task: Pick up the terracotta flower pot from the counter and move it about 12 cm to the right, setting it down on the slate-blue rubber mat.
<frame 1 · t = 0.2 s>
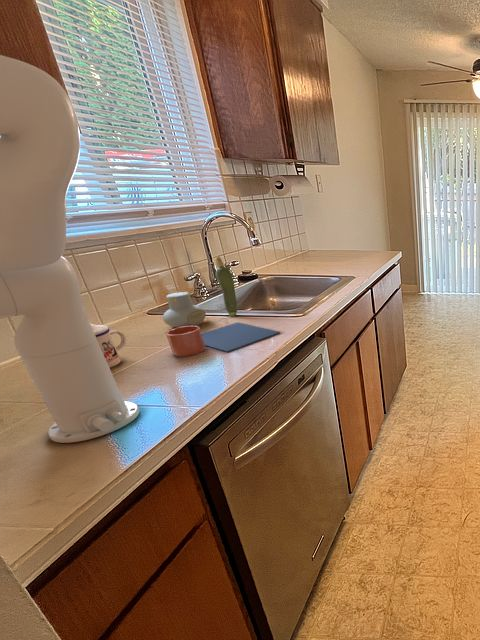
terracotta flower pot: (189, 351, 106), on the counter
mat: (233, 336, 116), on the counter
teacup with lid: (106, 364, 99), on the counter
air freshener: (188, 325, 125), on the counter
vegetable: (235, 316, 134), on the counter
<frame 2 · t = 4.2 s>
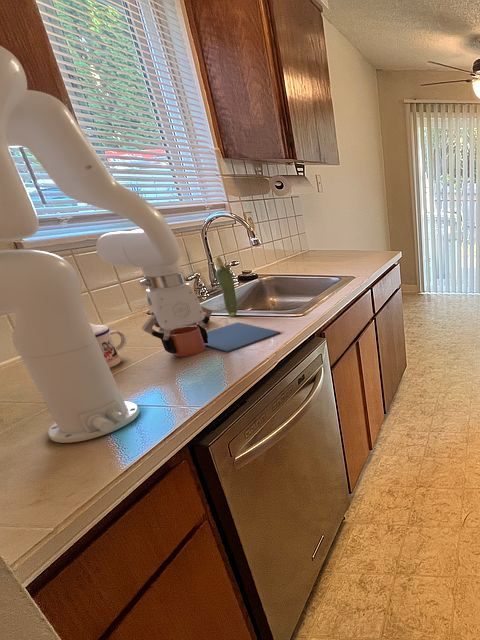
hand: (188, 347, 105), 1 cm above the counter, tool pointing down, fingers closed on terracotta flower pot, 7 cm apart
terracotta flower pot: (190, 351, 106), on the counter, touching gripper
everything else where it was.
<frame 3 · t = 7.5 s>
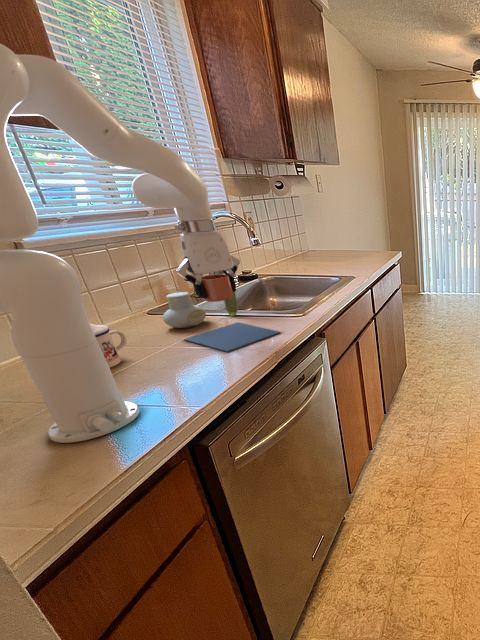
hand: (218, 294, 110), 13 cm above the counter, tool pointing down, fingers closed on terracotta flower pot, 7 cm apart
terracotta flower pot: (219, 298, 110), point 12 cm above the counter, touching gripper
everything else where it was.
when the fingers open (2 cm above the counter, at t = 10.6 s): terracotta flower pot stays where it is, resting on mat.
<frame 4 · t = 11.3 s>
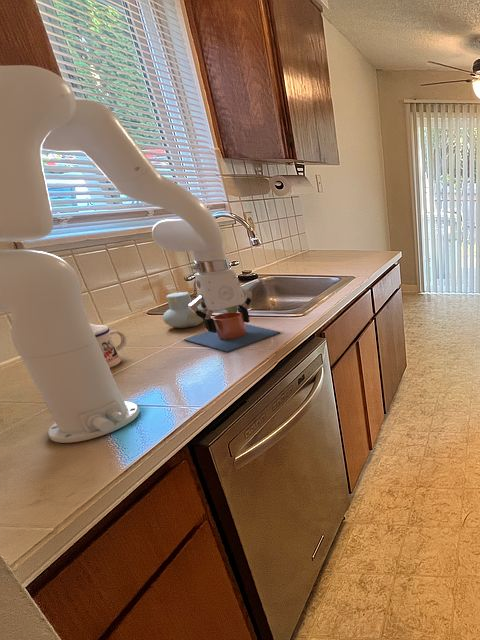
hand: (229, 326, 114), 3 cm above the counter, tool pointing down, fingers open, 9 cm apart
terracotta flower pot: (232, 335, 115), resting on mat
everything else where it was.
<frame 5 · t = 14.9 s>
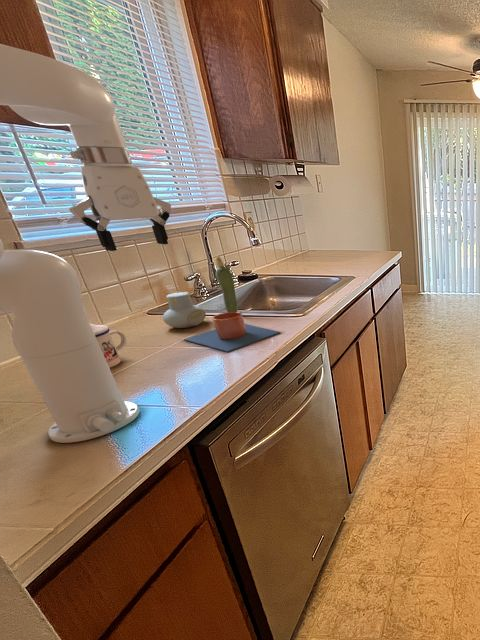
hand: (138, 247, 86), 28 cm above the counter, tool pointing down, fingers open, 9 cm apart
nothing on the counter moved.
at the end: terracotta flower pot inside the target area on the mat (0.0 cm from its centre), point 0.4 cm above the mat's base; terracotta flower pot tilted 0°; terracotta flower pot moved 12.0 cm from its start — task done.
